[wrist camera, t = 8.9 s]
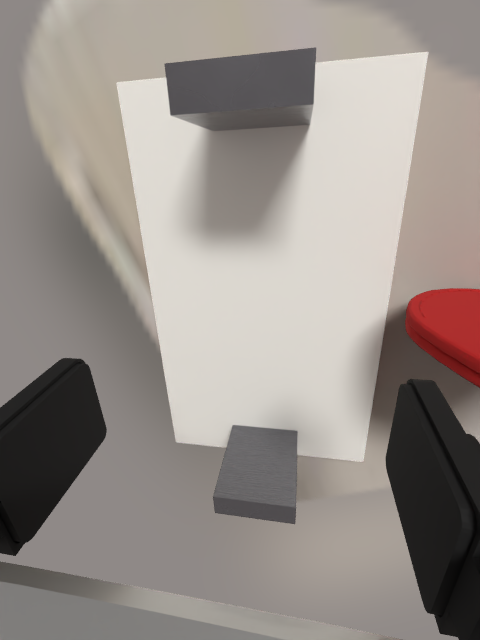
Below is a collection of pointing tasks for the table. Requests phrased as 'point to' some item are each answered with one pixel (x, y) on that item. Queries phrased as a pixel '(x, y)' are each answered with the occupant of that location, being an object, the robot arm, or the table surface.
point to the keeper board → (272, 252)
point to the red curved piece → (448, 328)
